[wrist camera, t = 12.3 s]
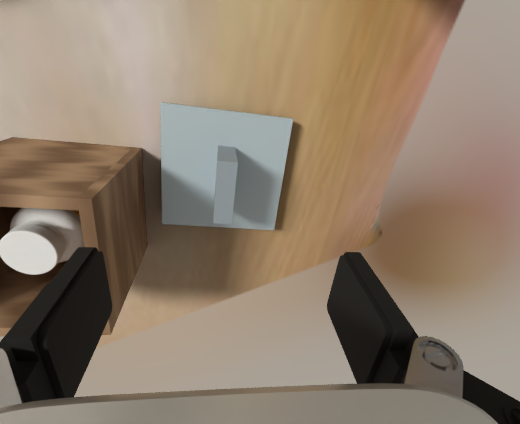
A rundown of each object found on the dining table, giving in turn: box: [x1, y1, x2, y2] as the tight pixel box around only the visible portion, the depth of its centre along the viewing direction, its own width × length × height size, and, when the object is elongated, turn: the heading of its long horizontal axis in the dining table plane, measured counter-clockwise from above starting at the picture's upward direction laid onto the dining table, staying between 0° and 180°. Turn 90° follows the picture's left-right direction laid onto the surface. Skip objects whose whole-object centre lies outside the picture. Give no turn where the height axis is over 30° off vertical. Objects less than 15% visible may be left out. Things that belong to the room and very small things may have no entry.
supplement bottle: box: [0, 208, 85, 275], centre depth 31 cm, size 7×7×13 cm
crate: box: [0, 137, 147, 336], centre depth 30 cm, size 14×14×16 cm
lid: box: [160, 102, 293, 230], centre depth 34 cm, size 15×15×9 cm
